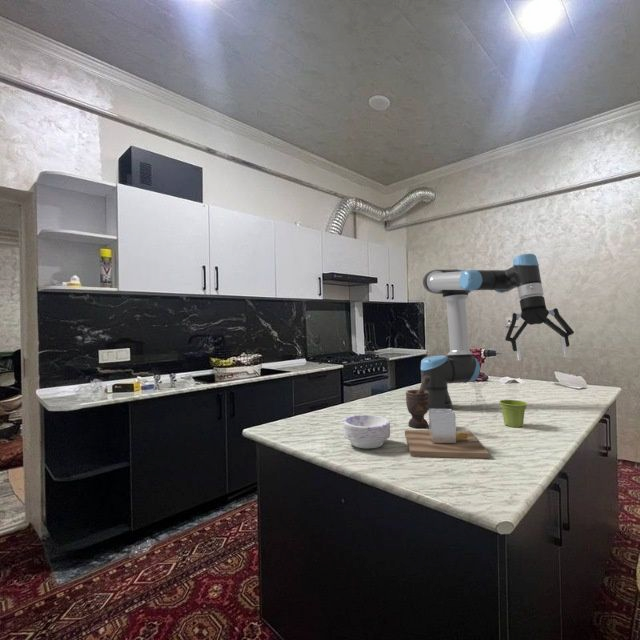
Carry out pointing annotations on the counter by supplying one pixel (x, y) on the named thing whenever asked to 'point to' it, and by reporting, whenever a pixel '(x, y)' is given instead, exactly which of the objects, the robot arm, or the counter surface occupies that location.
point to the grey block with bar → (443, 426)
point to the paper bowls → (366, 430)
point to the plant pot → (513, 412)
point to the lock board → (444, 446)
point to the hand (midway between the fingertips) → (542, 358)
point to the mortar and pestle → (418, 404)
